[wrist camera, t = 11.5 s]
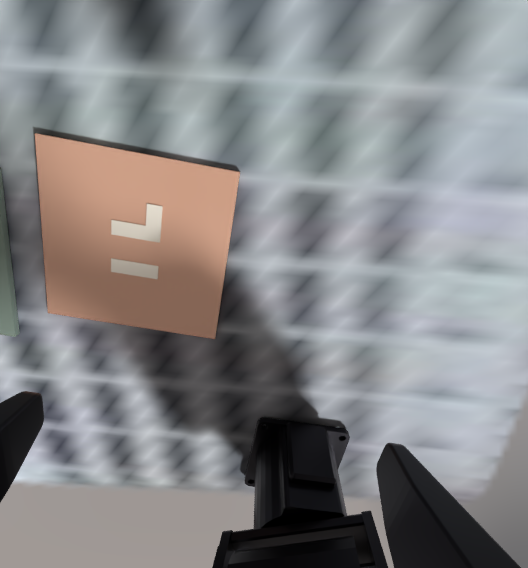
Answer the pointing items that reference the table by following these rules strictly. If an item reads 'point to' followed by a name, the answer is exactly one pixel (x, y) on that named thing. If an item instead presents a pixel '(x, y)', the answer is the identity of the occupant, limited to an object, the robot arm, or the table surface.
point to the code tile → (134, 236)
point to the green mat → (6, 277)
